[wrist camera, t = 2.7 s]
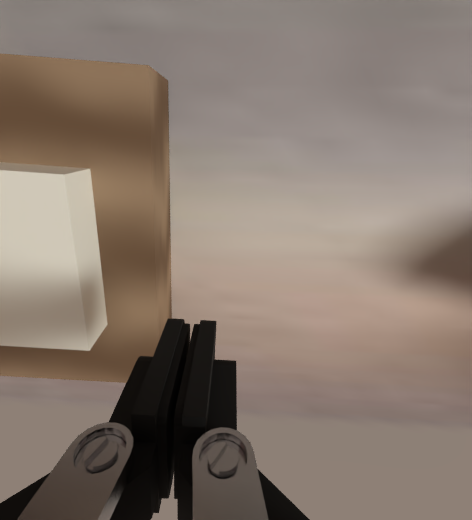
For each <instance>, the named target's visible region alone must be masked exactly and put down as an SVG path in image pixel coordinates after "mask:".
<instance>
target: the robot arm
mask: <svg viewBox="0 0 472 520" xmlns="http://www.w3.org/2000/svg"><path fill="white" fill-rule="evenodd" d="M215 339H216V321H206V320H201V322H200V324H194V327H193V332H192V336H191V341H190V324H185V323H184V319H169V318H168V319H167V322H166V324H165V327H164V329H163V332H162V335H161V337H160V340H159V342H158V345H157V347H156V350H155V353H154V355H153V357H152V356H140V357H138V359H137V361H136V363H135V365H134V368H133V370H132V372H131V374H130V376H129V379H128V381H127V383H126V385H125V387H124V390H123V392H122V394H121V396H120V398H119V401H118V403H117V405H116V407H115V409H114V412H113V414H112V416H111V418H110V420H109V422H107V423H102V424H98V425H95V426H93V427H91V428H89V429H87V430H86V431H84V432H83V433H81V434H80V435H79V436H78V437H77V438H76V439H75V440H74V441H73V442H72V444H71V445H70V446H69V448H68V449H67V450H66V452H65V453H64V455H63V456H62V457H61V459H60V460H59V462H58V463H57V465H56V466H55V467H54V469H53V470H52V471H51V473H49V474H47V475H46V476H44V477H42V478H41V479H39V480H38V481H36V482H35V483H33V484H31V485H30V486H28V487H26V488H25V489H23V490H21V491H20V492H18V493H16V494H15V495H13V496H11V497H10V498H8V499H7V500H5V501H3V502H2V503H0V520H150V519H151V518H152V515H153V513H159V509H160V504H161V499H162V498H169V495H170V490H171V485H172V479H173V474H174V498H175V499H178V520H309V519H308V518H307V517H306V516H305V515H304V514H303V513H302V512H301V511H300V510H299V509H298V508H297V507H296V506H295V505H294V504H293V503H292V502H291V501H290V500H289V499H288V498H287V497H286V496H285V495H284V494H283V493H282V492H281V491H279V490H278V488H277V487H276V486H275V485H273V484H272V483H271V482H270V481H269V480H268V479H267V478H266V477H265V476H264V475H263V474H262V473H261V472H260V471H259V470H258V469H257V465H256V460H255V455H254V451H253V448H252V446H251V443H250V442H249V440H248V439H247V438H246V437H245V436H244V435H243V434H241V433H240V432H239V431H237V407H236V361H230V360H215Z"/></svg>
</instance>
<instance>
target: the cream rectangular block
mask: <svg viewBox="0 0 472 520" xmlns="http://www.w3.org/2000/svg"><path fill="white" fill-rule="evenodd" d="M106 326H107V315H106V306H105V297H104V288H103V279H102V270H101V261H100V252H99V243H98V234H97V225H96V216H95V207H94V198H93V189H92V180H91V171H90V169H89V168H75V167H61V166H47V165H33V164H19V163H5V162H0V346H16V347H33V348H50V349H68V350H85V351H90V349H91V348H92V346H93V345H94V343H95V342H96V341H97V339H98V338H99V336H100V335H101V333H102V332H103V330H104V329H105V327H106Z"/></svg>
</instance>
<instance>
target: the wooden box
mask: <svg viewBox="0 0 472 520" xmlns="http://www.w3.org/2000/svg"><path fill="white" fill-rule="evenodd" d="M0 162H5V163H19V164H33V165H47V166H61V167H75V168H89V169H90V171H91V180H92V189H93V198H94V207H95V216H96V225H97V234H98V243H99V252H100V261H101V270H102V279H103V288H104V297H105V306H106V315H107V326H106V327H105V329H104V330H103V332H102V333H101V335H100V336H99V338H98V339H97V341H96V342H95V343H94V345H93V346H92V348H91V349H90V351H85V350H68V349H50V348H33V347H16V346H0V376H15V377H33V378H51V379H69V380H87V381H105V382H123V383H127V381H128V379H129V376H130V374H131V372H132V370H133V368H134V365H135V363H136V361H137V359H138V357H140V356H152V357H153V355H154V353H155V350H156V347H157V345H158V342H159V340H160V337H161V335H162V332H163V329H164V327H165V324H166V322H167V319H168V318H169V319H172V312H171V245H170V178H169V112H168V80H167V79H165V78H164V77H163V76H161V75H160V74H159V73H158V72H156V71H155V70H154V69H152V68H151V67H150V66H149V65H138V64H125V63H112V62H100V61H87V60H74V59H62V58H49V57H36V56H24V55H11V54H0Z"/></svg>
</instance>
